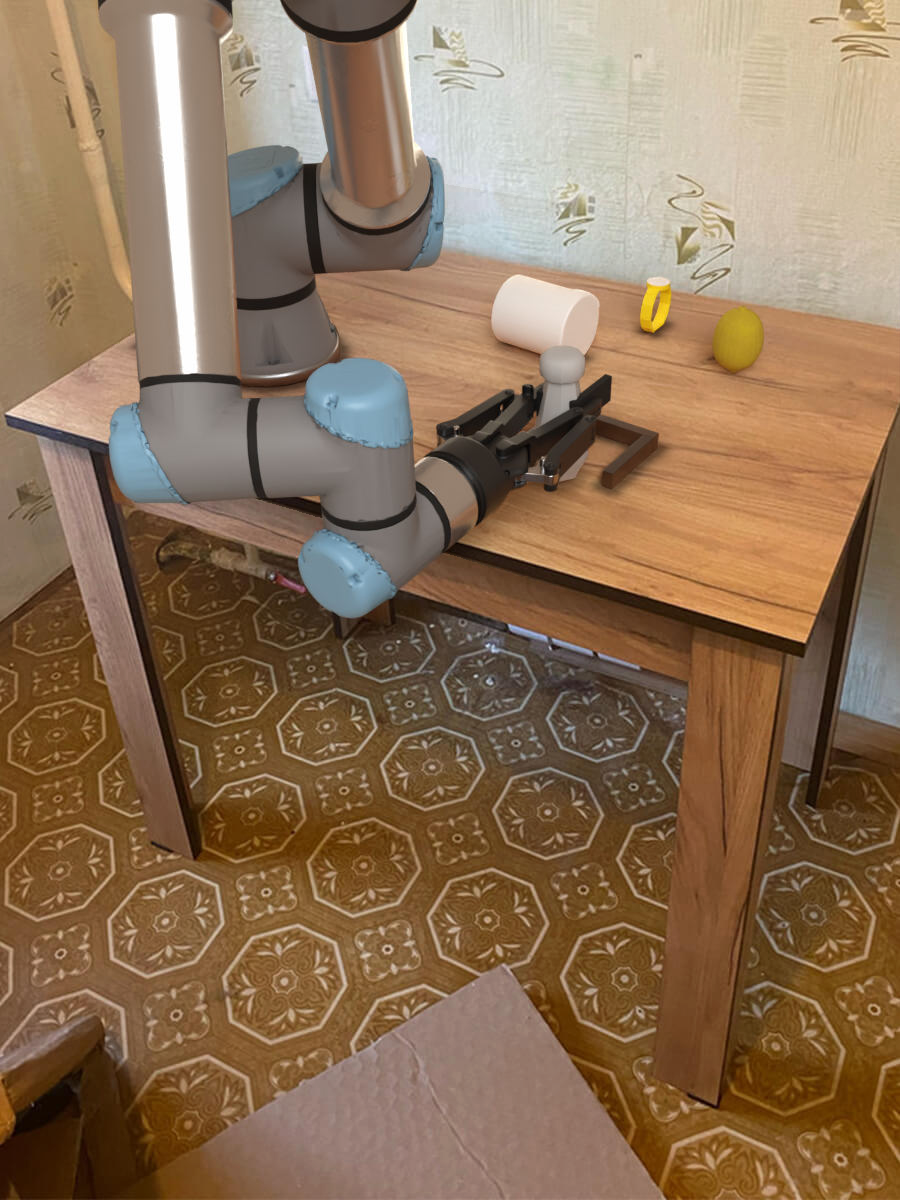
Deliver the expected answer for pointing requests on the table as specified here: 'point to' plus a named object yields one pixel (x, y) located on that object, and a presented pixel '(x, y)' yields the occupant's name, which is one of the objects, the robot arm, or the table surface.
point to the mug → (544, 315)
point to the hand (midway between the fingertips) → (591, 382)
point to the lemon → (738, 339)
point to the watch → (649, 299)
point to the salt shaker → (560, 389)
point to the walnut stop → (639, 450)
